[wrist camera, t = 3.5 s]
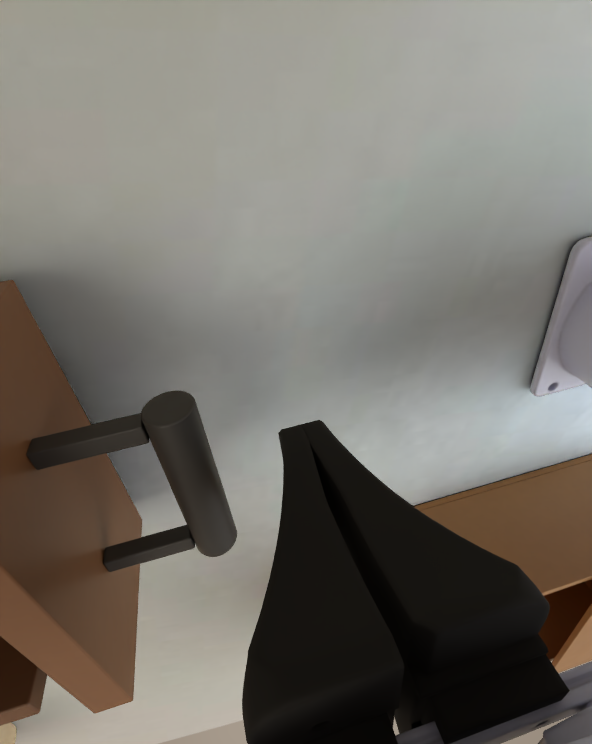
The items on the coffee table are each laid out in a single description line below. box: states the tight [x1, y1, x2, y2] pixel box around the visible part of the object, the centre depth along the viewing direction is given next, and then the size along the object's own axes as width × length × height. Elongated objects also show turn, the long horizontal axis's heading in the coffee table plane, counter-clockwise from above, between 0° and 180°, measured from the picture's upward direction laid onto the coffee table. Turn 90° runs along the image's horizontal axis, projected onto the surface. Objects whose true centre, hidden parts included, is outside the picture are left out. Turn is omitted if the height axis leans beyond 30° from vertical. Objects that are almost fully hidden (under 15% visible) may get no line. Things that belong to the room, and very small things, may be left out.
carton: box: [414, 454, 592, 673], centre depth 27 cm, size 14×12×7 cm
